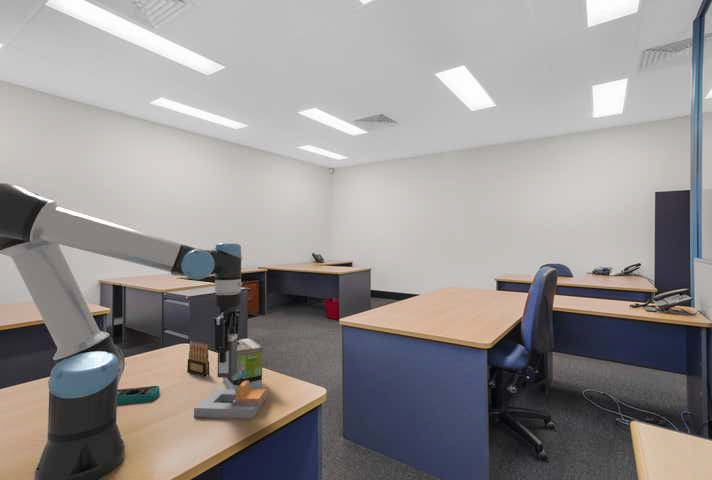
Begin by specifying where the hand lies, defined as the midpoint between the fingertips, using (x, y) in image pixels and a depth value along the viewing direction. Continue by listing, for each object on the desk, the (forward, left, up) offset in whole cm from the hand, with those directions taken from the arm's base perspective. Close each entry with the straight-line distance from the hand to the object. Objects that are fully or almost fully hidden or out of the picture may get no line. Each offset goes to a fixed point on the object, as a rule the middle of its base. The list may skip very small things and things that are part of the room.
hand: (227, 369), depth 100 cm
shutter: (0, -8, -8) cm, 11 cm away
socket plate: (0, -2, -11) cm, 11 cm away
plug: (0, 0, -2) cm, 2 cm away
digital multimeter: (+3, +33, -12) cm, 35 cm away
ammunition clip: (+26, +23, -11) cm, 37 cm away
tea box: (+16, +2, -11) cm, 19 cm away
